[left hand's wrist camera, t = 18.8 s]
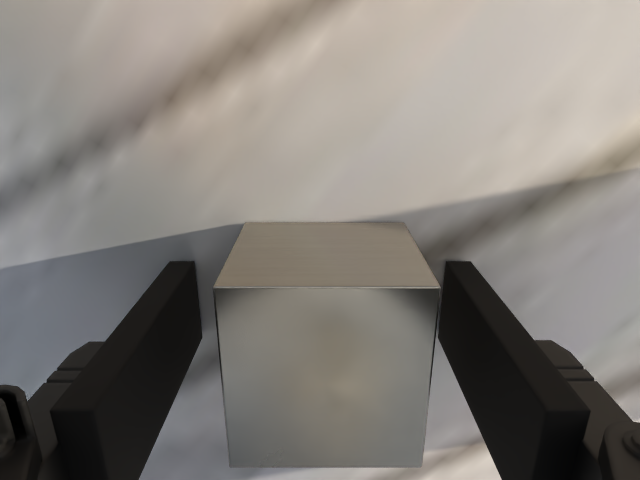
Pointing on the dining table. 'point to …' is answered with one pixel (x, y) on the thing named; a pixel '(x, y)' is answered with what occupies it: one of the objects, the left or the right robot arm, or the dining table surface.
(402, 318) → the grey square block
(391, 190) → the dining table surface
